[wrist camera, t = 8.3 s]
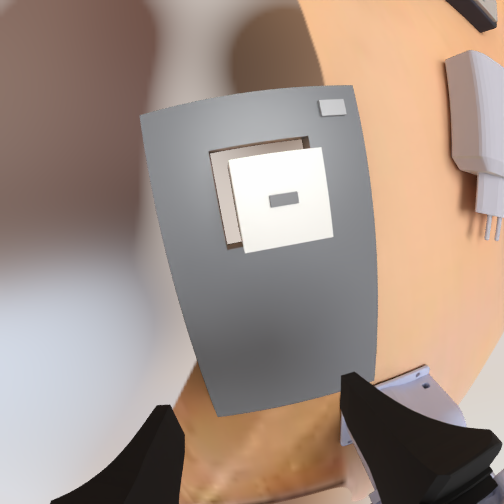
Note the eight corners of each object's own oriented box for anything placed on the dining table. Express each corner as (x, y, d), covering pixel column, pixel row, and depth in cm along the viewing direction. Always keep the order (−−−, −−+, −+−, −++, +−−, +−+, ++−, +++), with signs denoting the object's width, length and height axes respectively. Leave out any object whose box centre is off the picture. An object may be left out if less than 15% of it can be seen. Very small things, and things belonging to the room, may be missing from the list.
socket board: (343, 91, 16) (354, 84, 15) (367, 370, 22) (375, 382, 20) (146, 120, 16) (138, 114, 14) (217, 404, 22) (217, 419, 20)
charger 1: (291, 157, 17) (322, 146, 11) (300, 218, 18) (334, 237, 12) (227, 166, 17) (228, 159, 11) (239, 229, 18) (245, 254, 12)
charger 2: (441, 231, 20) (439, 61, 16) (498, 236, 21) (499, 94, 17) (480, 244, 15) (474, 47, 12) (531, 248, 16) (531, 89, 13)
